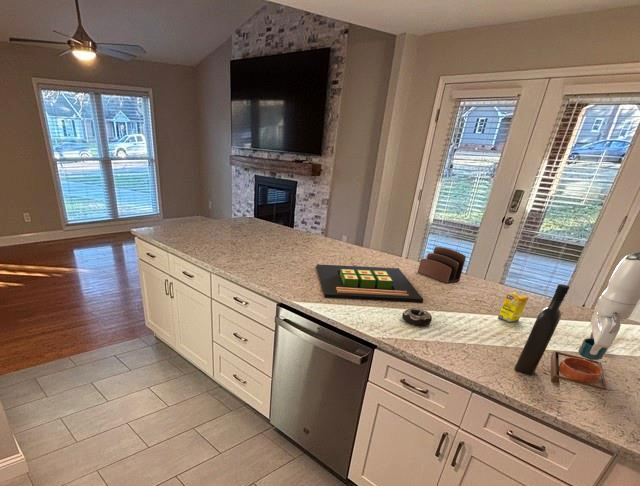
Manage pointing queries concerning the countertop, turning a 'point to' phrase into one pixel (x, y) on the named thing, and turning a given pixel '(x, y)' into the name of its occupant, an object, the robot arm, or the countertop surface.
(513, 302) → the supplement box
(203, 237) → the countertop surface
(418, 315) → the donut
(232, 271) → the countertop surface
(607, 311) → the robot arm
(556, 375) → the tray
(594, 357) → the small bowl
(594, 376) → the big bowl
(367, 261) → the countertop surface
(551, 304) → the wine bottle
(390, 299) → the sushi set
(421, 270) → the letter holder
